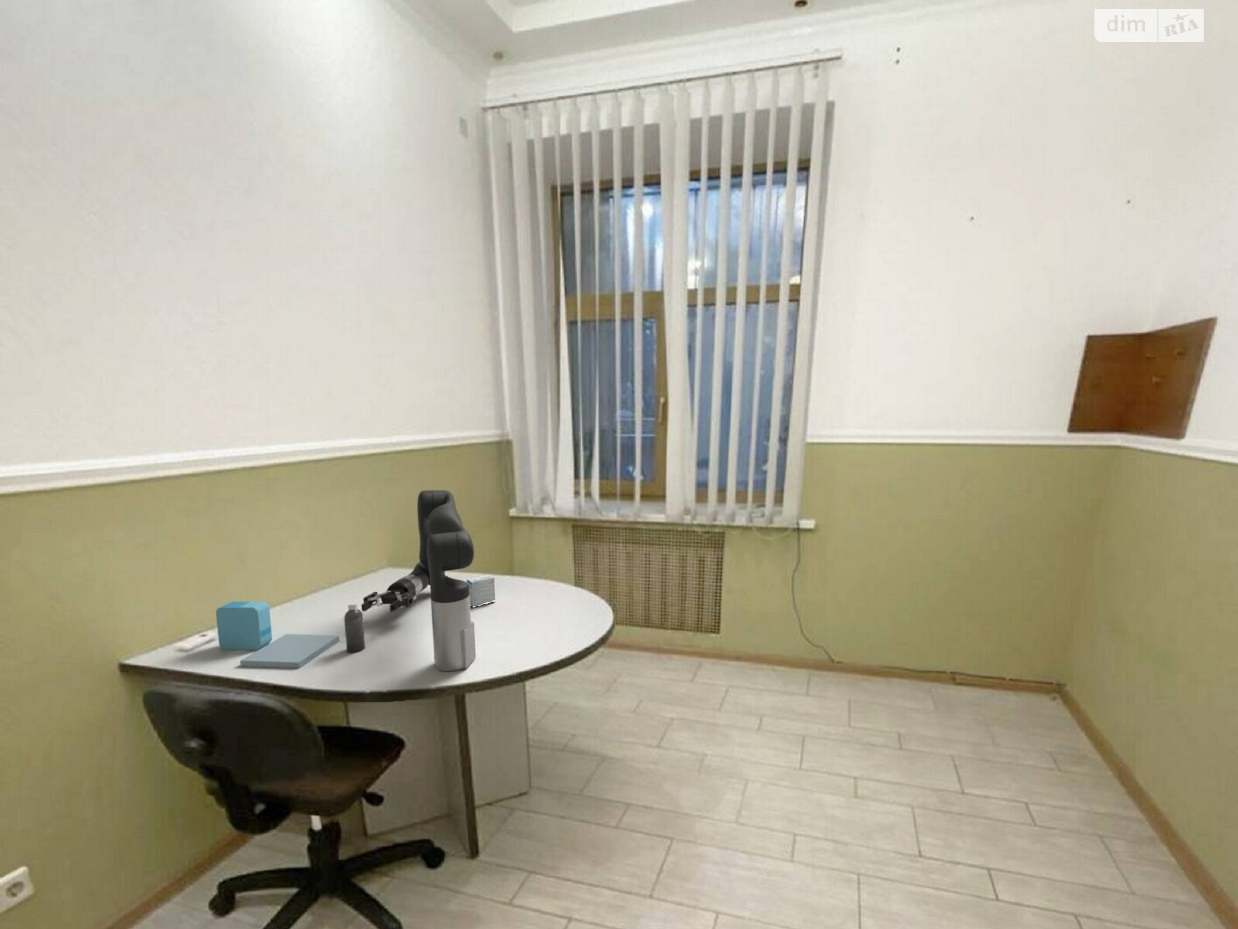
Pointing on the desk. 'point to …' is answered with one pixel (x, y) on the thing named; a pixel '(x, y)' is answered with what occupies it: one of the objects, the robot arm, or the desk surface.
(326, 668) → the desk surface
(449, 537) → the robot arm
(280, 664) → the plate
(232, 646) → the data package
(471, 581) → the medicine box
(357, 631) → the dark grey bottle
